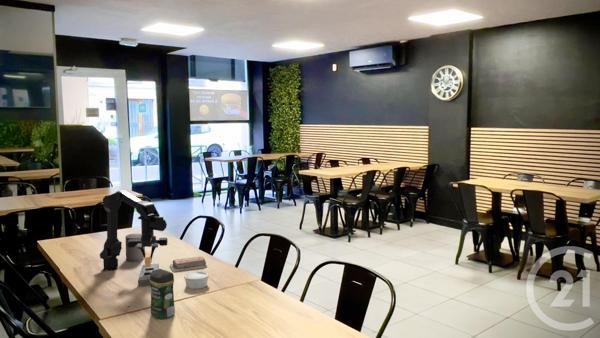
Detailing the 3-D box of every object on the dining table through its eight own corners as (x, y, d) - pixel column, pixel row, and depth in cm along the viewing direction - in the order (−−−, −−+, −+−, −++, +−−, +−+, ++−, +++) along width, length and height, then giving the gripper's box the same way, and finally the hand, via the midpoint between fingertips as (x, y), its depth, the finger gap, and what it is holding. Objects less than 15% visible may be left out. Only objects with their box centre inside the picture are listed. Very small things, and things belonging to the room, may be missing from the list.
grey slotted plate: (155, 285, 222) (155, 279, 222) (138, 286, 220) (138, 280, 220) (158, 269, 245) (158, 263, 245) (142, 270, 243) (142, 264, 243)
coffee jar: (147, 315, 188) (146, 270, 186) (164, 308, 194) (163, 265, 192) (161, 321, 182) (160, 275, 180) (178, 315, 188) (177, 270, 186)
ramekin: (212, 283, 225) (212, 272, 224) (200, 291, 214) (200, 280, 214) (192, 280, 229) (192, 270, 228) (179, 288, 218) (179, 277, 218)
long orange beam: (144, 267, 227) (144, 257, 226) (146, 261, 236) (146, 251, 236) (150, 267, 227) (150, 257, 227) (151, 260, 237) (151, 251, 236)
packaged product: (202, 254, 257) (207, 259, 248) (202, 262, 258) (207, 268, 249) (169, 258, 249) (172, 263, 241) (169, 267, 250) (173, 272, 241)
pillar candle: (122, 260, 260) (121, 234, 258) (134, 255, 269) (133, 230, 267) (135, 263, 256) (135, 236, 254) (147, 258, 265) (147, 232, 263)
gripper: (125, 233, 220) (126, 265, 222) (166, 231, 224) (167, 262, 226) (128, 228, 231) (129, 258, 232) (167, 226, 235) (168, 256, 237)
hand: (148, 259), depth 232 cm, fingers closed on long orange beam, 2 cm apart
